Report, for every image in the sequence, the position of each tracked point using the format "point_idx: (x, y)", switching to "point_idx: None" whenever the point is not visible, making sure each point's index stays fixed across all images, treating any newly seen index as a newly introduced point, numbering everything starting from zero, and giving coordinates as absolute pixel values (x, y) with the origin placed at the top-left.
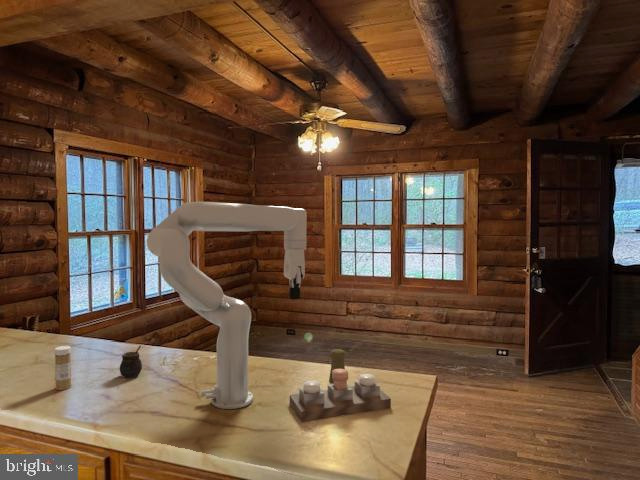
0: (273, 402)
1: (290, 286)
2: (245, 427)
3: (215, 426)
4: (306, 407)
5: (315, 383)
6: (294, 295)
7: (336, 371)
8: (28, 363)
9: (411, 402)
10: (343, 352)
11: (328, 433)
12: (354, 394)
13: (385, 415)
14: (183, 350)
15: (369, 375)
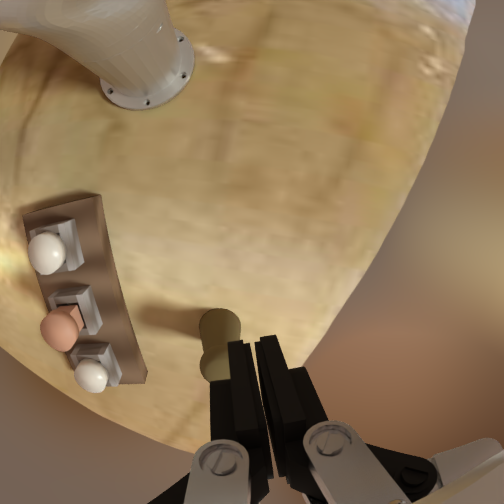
0: (116, 158)
1: (305, 434)
2: (34, 108)
3: (51, 57)
4: (35, 228)
5: (43, 264)
6: (210, 394)
7: (55, 326)
8: None
9: (111, 406)
10: (209, 382)
11: (6, 252)
12: (90, 336)
13: (62, 356)
14: (464, 28)
15: (96, 386)
